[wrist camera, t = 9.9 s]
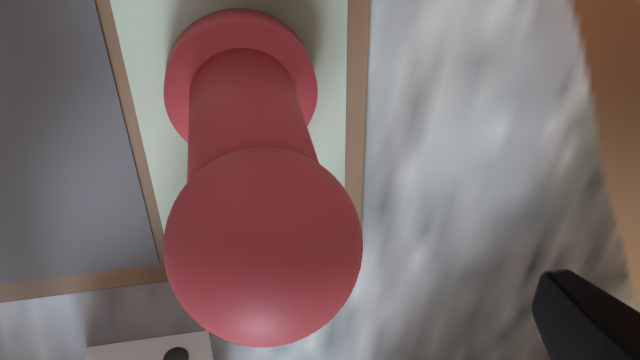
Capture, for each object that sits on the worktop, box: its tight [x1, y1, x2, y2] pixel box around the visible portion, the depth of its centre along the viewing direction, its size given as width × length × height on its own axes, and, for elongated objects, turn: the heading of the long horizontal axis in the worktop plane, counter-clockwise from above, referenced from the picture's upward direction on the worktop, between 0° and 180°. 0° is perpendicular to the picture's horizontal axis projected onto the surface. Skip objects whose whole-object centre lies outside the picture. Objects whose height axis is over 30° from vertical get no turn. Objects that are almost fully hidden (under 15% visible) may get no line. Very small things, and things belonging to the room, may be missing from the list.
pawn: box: [163, 8, 363, 347], centre depth 13 cm, size 4×4×10 cm
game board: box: [0, 0, 370, 303], centre depth 16 cm, size 22×16×1 cm
